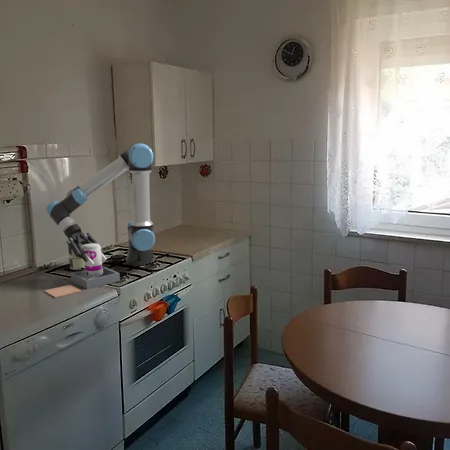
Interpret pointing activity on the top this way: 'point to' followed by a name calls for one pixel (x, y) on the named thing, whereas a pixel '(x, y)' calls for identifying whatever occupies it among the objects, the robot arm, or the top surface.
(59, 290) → the terracotta tile
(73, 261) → the coffee can
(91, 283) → the parts tub
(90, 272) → the supplement can
